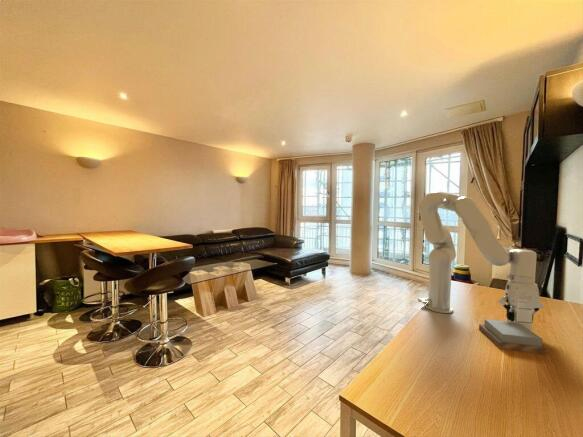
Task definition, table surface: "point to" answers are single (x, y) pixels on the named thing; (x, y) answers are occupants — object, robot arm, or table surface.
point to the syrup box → (523, 315)
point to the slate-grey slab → (513, 332)
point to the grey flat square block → (511, 345)
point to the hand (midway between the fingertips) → (519, 320)
